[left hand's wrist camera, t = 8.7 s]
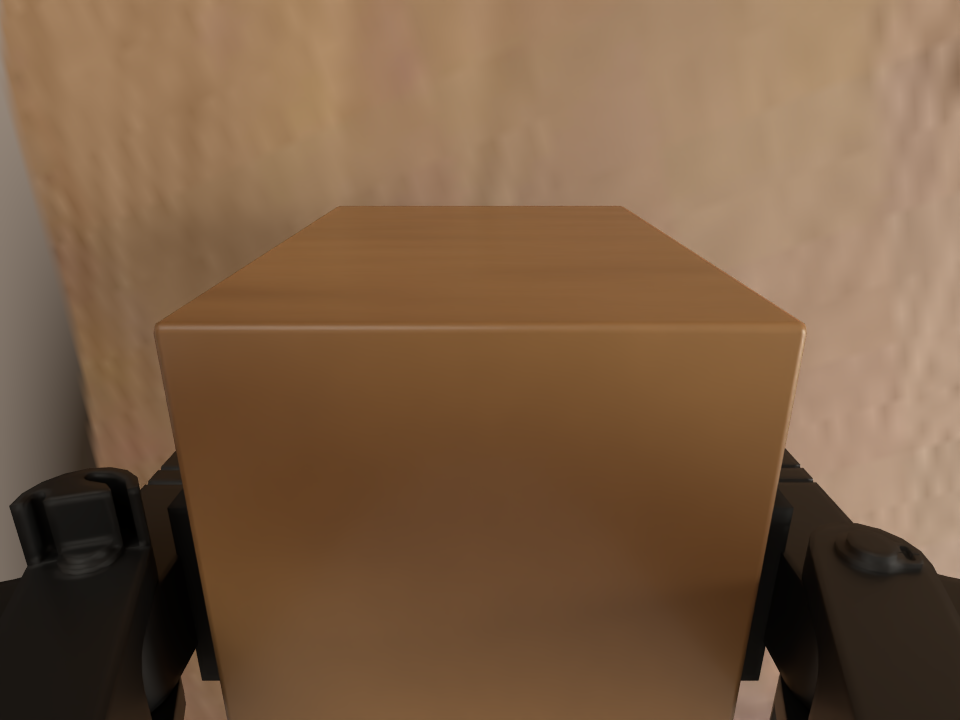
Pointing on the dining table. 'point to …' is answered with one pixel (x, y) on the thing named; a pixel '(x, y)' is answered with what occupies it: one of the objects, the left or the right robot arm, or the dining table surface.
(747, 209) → the dining table surface
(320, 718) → the beam
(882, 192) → the dining table surface
